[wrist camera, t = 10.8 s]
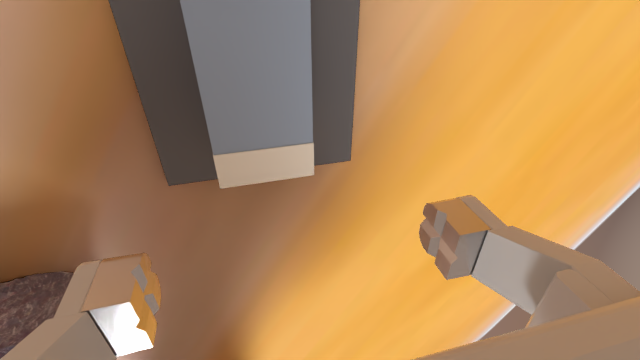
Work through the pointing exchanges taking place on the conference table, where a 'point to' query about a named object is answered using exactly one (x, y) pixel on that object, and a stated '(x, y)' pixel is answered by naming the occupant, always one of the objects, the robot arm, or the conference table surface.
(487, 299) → the conference table surface
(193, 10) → the block
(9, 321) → the stone
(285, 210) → the conference table surface
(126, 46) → the mat
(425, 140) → the conference table surface
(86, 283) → the robot arm
